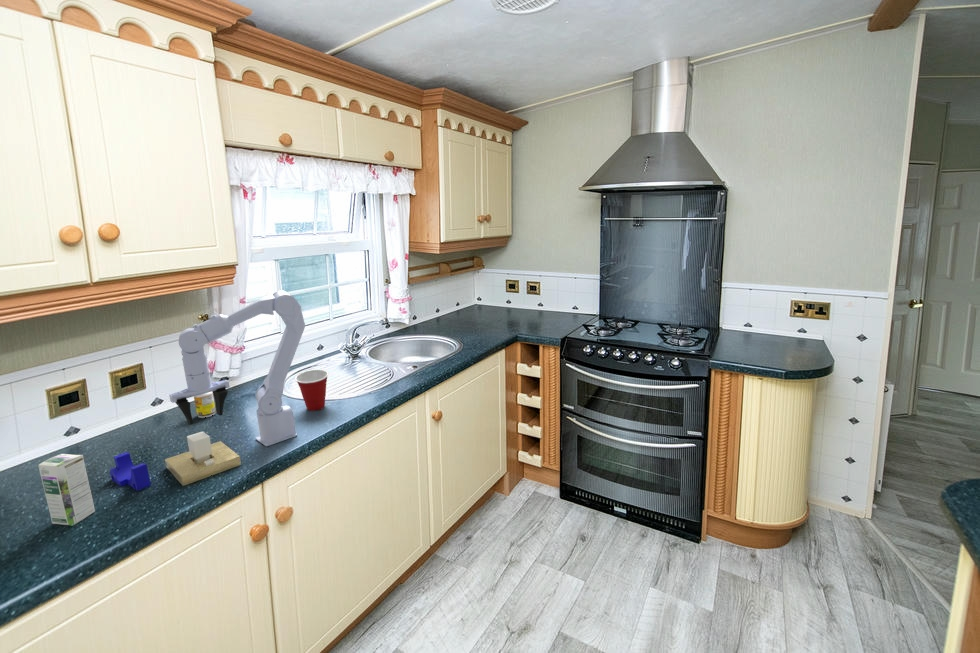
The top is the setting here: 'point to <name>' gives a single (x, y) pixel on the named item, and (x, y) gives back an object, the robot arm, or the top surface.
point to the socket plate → (202, 464)
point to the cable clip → (129, 472)
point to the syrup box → (66, 489)
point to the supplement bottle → (205, 405)
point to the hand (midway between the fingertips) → (205, 418)
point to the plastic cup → (313, 388)
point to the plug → (199, 446)
